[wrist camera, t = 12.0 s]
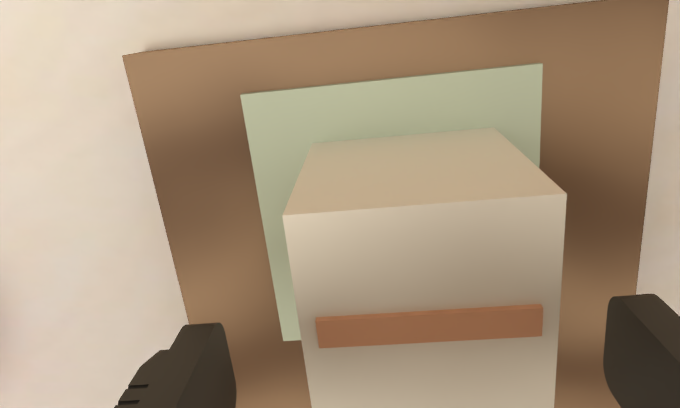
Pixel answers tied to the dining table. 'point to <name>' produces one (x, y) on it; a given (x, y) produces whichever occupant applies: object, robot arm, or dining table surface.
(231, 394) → the robot arm
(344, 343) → the cream drawer box
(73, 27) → the dining table surface
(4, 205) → the dining table surface
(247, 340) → the post board
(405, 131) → the mat
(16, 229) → the dining table surface
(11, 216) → the dining table surface
